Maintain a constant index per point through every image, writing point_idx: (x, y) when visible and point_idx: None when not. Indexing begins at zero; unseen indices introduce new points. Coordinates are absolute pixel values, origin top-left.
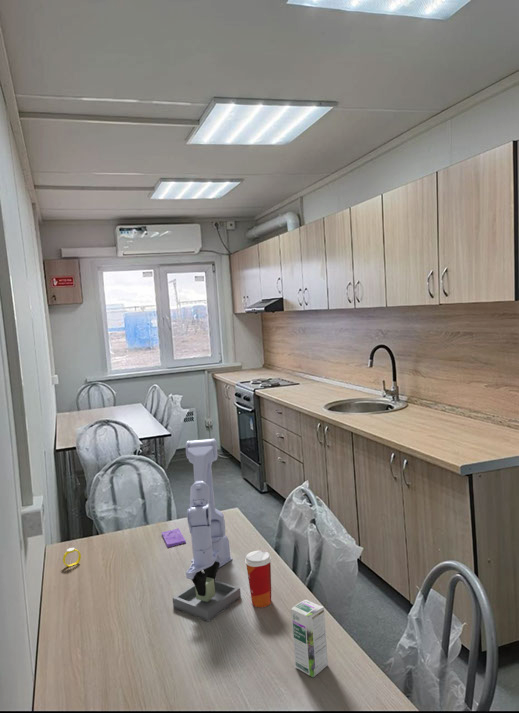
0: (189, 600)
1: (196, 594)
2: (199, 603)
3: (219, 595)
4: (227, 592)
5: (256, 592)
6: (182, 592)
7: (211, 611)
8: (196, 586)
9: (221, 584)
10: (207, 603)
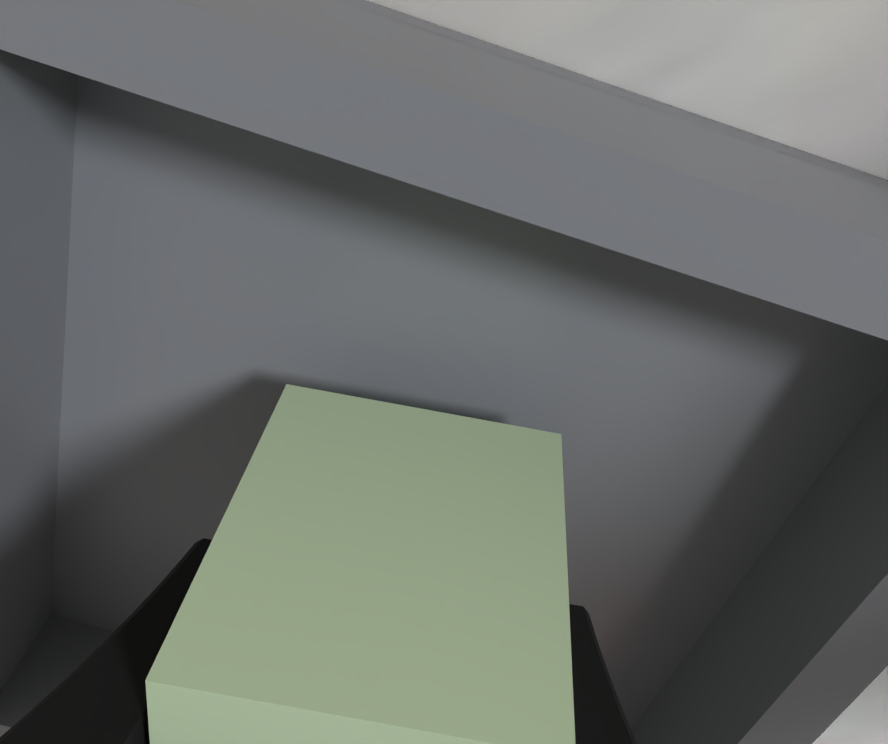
0: (321, 181)
1: (256, 458)
2: None
3: (597, 600)
4: (673, 688)
5: None
6: (228, 67)
7: None
8: (76, 707)
9: (753, 712)
10: None
